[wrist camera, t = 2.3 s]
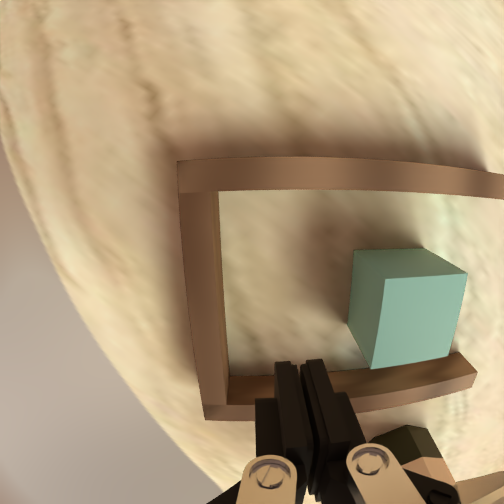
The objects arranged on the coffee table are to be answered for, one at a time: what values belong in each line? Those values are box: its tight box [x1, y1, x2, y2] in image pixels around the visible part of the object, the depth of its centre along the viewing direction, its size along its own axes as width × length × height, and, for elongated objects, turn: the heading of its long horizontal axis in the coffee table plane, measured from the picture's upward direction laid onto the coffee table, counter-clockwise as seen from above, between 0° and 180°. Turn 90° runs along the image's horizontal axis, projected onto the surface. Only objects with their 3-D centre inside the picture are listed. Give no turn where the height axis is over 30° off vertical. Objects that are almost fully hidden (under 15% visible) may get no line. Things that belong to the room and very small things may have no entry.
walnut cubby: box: [177, 157, 504, 421], centre depth 17 cm, size 20×16×3 cm
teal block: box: [347, 248, 468, 369], centre depth 16 cm, size 5×5×5 cm
